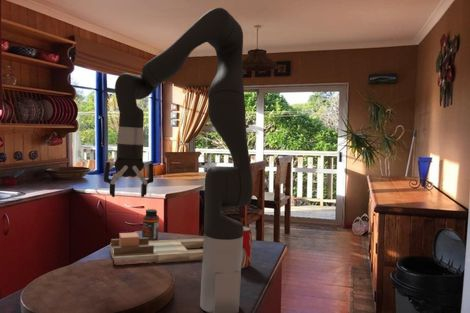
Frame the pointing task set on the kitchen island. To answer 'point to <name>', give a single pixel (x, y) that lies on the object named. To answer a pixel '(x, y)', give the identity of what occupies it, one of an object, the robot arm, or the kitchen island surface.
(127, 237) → the block
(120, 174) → the robot arm
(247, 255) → the soda can
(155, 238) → the supplement bottle
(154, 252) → the wooden fixture board
